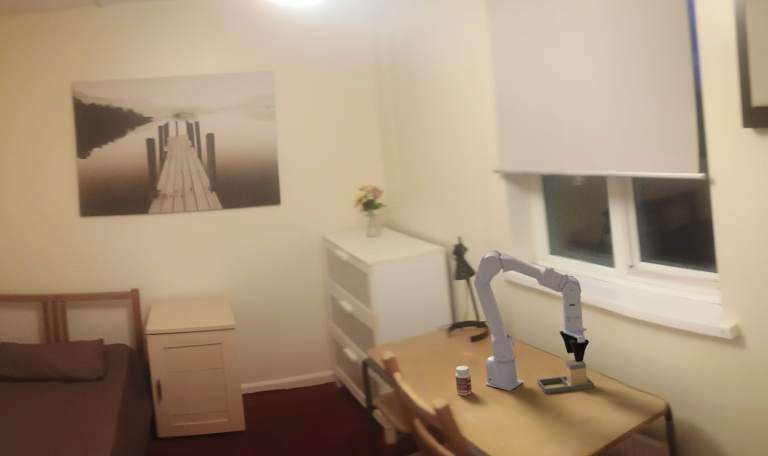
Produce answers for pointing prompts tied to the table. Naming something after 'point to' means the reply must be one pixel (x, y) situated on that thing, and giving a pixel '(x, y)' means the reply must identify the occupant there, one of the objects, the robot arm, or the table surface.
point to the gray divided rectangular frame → (564, 382)
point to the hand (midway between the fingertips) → (574, 357)
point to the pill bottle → (463, 380)
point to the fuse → (576, 372)
